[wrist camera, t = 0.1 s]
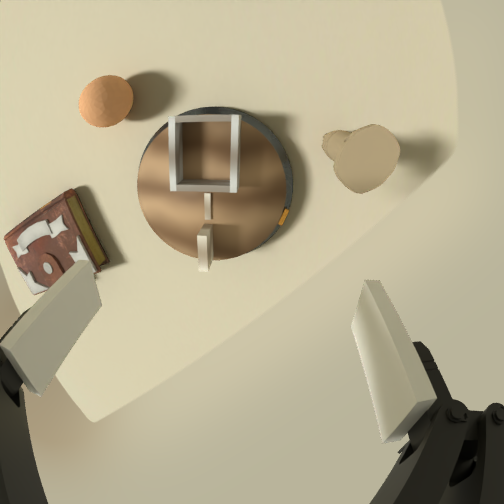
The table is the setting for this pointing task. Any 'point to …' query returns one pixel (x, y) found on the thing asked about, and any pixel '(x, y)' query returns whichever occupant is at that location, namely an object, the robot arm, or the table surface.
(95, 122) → the egg
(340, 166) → the handle
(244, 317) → the table surface
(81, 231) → the book
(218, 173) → the dial
